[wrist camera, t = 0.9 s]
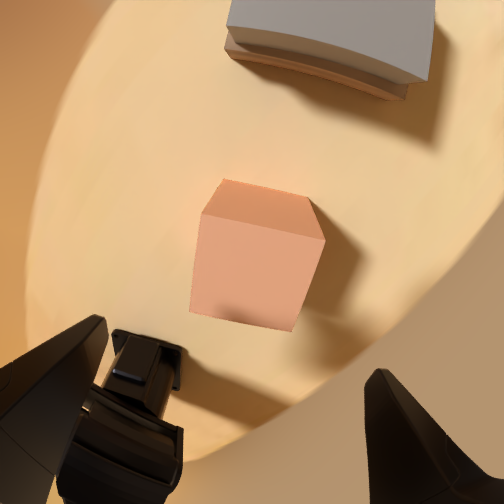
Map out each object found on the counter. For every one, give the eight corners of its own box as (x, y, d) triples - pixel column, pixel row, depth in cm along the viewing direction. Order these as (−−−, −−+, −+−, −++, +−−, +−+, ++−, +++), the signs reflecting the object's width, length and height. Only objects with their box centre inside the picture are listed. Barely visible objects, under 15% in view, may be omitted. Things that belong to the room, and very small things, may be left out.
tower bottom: (383, 100, 14) (404, 99, 11) (231, 59, 13) (223, 48, 11) (403, -13, 10) (423, -28, 7) (263, -54, 9) (262, -77, 6)
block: (286, 268, 19) (291, 332, 13) (211, 253, 19) (189, 311, 13) (307, 197, 16) (326, 240, 11) (223, 178, 16) (201, 213, 11)
